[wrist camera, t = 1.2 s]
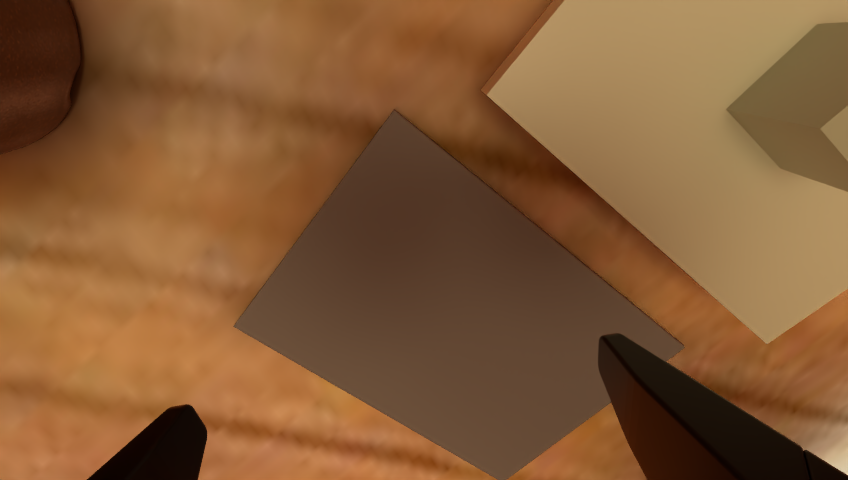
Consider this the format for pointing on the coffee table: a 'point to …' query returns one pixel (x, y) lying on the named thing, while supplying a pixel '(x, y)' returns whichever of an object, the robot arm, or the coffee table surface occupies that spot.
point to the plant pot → (35, 68)
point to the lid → (704, 135)
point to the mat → (446, 307)
